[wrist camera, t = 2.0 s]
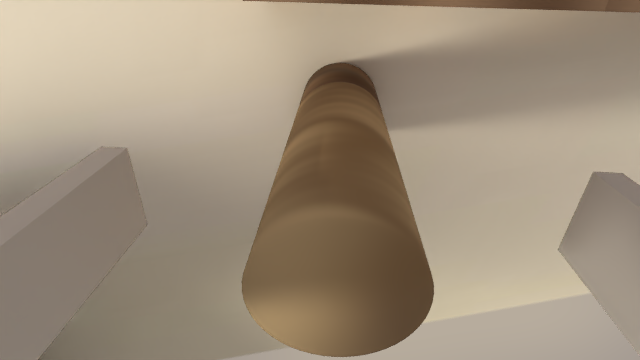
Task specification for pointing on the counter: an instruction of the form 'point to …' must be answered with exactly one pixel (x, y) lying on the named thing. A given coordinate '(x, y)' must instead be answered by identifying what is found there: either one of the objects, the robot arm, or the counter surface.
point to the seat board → (501, 4)
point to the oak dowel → (338, 230)
